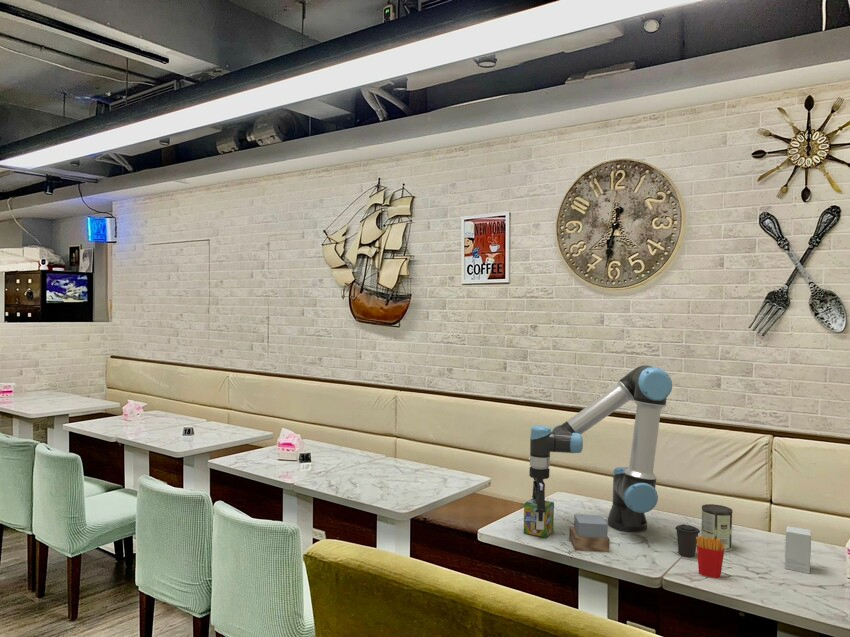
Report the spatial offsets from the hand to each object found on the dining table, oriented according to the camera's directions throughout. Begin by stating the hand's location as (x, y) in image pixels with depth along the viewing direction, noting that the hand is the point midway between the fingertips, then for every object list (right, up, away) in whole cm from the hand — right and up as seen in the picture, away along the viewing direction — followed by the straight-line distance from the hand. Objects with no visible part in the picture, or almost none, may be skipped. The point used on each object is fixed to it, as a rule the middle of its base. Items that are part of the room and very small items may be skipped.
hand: (537, 523), depth 238 cm
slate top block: (+17, +1, -12) cm, 21 cm away
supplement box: (+83, -6, -28) cm, 87 cm away
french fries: (+49, -5, -36) cm, 61 cm away
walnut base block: (+16, -4, -12) cm, 21 cm away
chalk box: (0, -4, 0) cm, 4 cm away
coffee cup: (+49, -5, -19) cm, 53 cm away
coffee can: (+64, -5, -10) cm, 64 cm away
